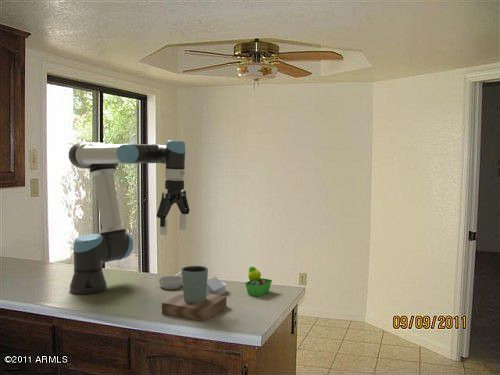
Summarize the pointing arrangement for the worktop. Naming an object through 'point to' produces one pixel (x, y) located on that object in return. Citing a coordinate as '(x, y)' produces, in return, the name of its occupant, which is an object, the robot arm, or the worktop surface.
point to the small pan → (171, 281)
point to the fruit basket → (257, 283)
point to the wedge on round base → (215, 286)
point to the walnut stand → (194, 306)
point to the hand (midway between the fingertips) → (173, 232)
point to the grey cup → (194, 283)
